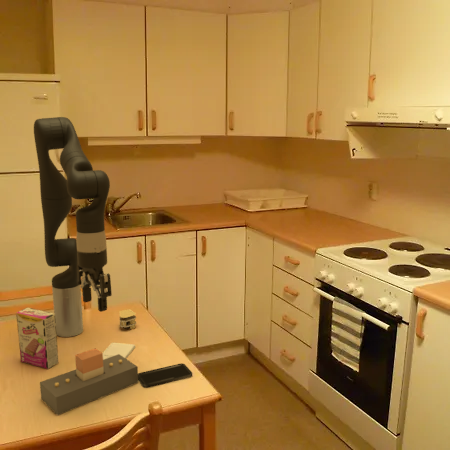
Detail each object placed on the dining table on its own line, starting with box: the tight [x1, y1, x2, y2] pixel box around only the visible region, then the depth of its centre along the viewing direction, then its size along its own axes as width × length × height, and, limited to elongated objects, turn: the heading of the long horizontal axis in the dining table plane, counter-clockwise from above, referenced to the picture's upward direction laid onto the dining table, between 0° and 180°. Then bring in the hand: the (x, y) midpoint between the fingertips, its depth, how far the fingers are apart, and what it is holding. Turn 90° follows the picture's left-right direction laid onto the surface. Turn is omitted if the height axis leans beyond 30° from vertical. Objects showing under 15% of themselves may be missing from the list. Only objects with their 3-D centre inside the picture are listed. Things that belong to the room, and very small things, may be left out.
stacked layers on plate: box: [119, 308, 137, 330], centre depth 183 cm, size 10×9×6 cm
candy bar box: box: [15, 307, 59, 370], centre depth 156 cm, size 11×5×16 cm, turn 65°
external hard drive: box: [102, 342, 136, 360], centre depth 163 cm, size 2×8×12 cm
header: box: [39, 354, 139, 416], centre depth 142 cm, size 10×24×6 cm, turn 132°
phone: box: [138, 362, 193, 389], centre depth 150 cm, size 8×1×15 cm
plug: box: [74, 348, 104, 381], centre depth 141 cm, size 4×6×11 cm, turn 132°
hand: (94, 306), depth 138 cm, fingers open, 8 cm apart
